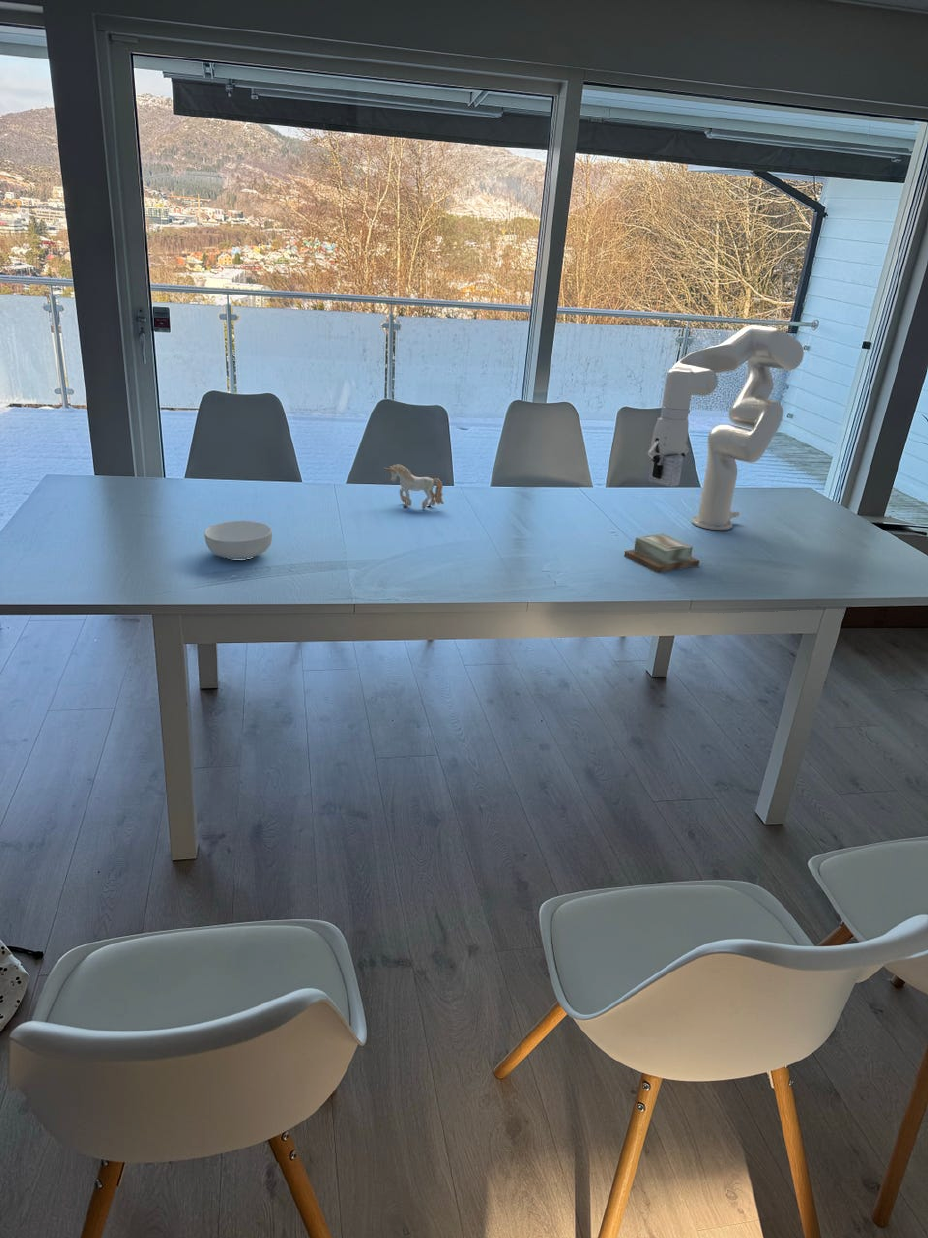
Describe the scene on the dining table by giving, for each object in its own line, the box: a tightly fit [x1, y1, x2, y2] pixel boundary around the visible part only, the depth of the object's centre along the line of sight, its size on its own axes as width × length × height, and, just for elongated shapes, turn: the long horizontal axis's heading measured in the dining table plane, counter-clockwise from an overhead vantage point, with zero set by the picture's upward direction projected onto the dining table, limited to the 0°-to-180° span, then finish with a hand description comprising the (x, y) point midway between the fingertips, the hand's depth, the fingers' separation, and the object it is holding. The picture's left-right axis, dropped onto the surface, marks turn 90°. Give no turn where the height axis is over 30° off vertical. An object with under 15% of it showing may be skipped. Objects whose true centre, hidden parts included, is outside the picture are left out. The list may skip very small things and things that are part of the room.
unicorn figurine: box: [383, 463, 445, 509], centre depth 277 cm, size 7×20×13 cm, turn 100°
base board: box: [624, 533, 700, 574], centre depth 246 cm, size 15×14×6 cm
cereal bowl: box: [203, 520, 273, 559], centre depth 229 cm, size 17×17×7 cm
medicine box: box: [648, 452, 684, 488], centre depth 255 cm, size 8×4×9 cm, turn 45°
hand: (664, 476), depth 256 cm, fingers closed on medicine box, 5 cm apart
